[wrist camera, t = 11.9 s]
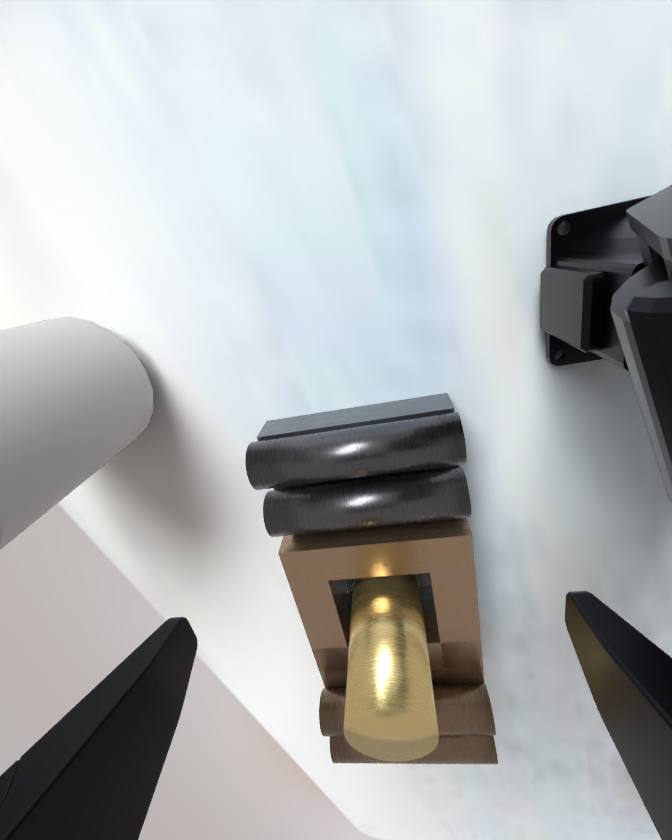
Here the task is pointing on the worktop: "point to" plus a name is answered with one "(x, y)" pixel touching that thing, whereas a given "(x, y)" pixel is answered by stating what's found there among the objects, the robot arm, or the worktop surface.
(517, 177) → the worktop surface
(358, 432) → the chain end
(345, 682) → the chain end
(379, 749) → the brass pin
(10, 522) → the can
